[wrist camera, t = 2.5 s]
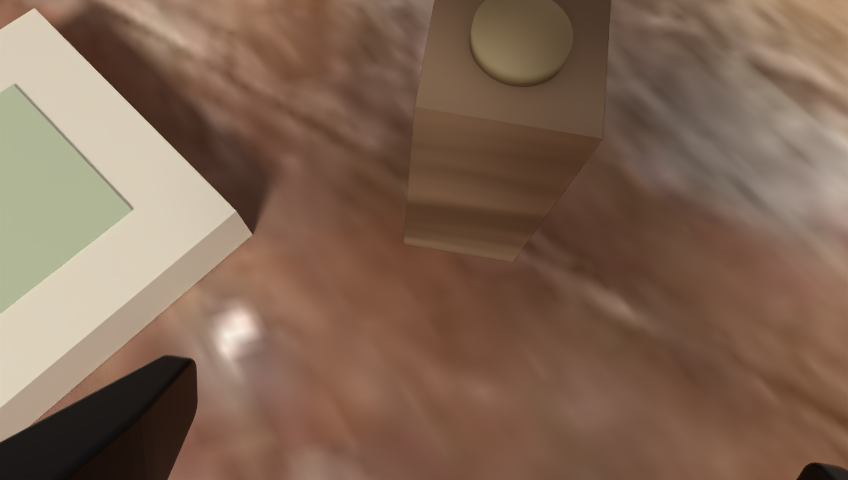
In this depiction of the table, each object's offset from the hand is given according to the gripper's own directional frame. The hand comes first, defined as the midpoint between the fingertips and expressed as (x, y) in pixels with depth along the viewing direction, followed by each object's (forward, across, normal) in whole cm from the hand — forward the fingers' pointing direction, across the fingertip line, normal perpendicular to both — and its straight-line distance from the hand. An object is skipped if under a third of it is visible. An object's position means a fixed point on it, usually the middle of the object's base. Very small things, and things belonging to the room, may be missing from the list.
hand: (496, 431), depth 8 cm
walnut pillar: (+15, 0, +3) cm, 16 cm away
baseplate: (+12, +16, +6) cm, 21 cm away
